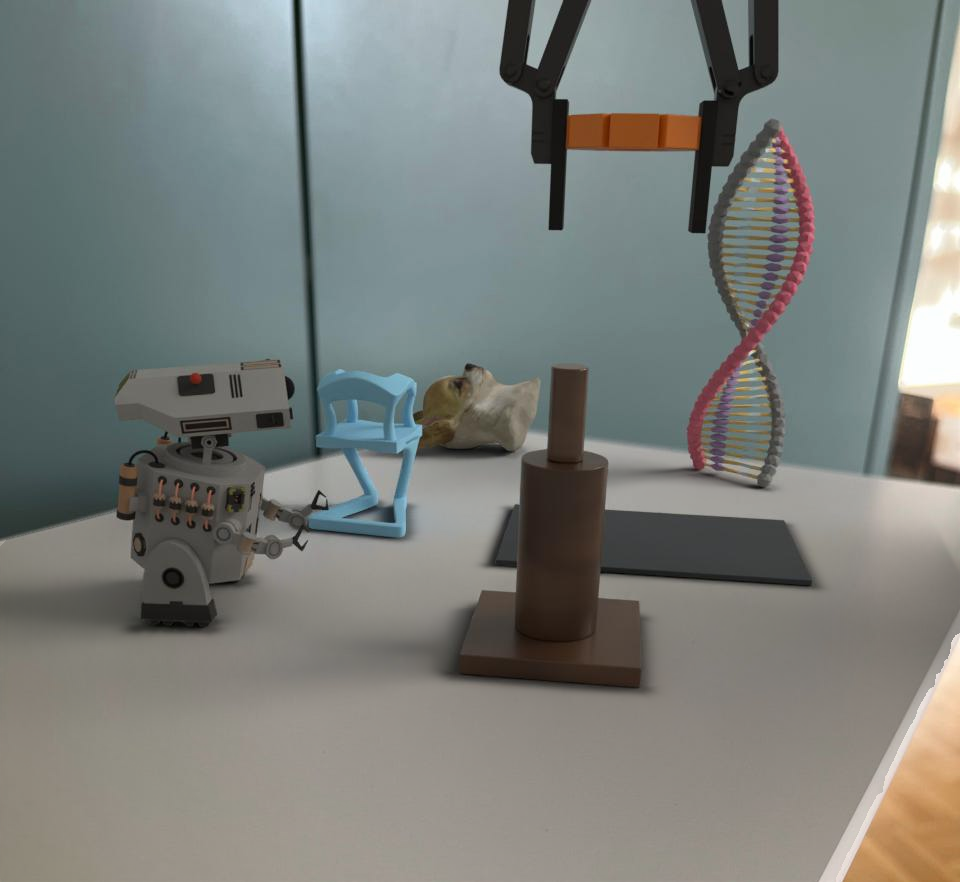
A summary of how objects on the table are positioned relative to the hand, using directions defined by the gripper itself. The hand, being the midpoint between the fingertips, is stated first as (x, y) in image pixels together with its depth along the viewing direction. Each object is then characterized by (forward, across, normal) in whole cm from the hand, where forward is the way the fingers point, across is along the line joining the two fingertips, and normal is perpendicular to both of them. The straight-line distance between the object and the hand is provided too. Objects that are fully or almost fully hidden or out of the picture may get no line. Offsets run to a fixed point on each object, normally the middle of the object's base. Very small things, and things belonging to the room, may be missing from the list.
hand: (625, 230), depth 59 cm
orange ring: (-4, 0, 0) cm, 4 cm away
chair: (+23, -18, +15) cm, 33 cm away
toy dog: (+23, -14, +40) cm, 48 cm away
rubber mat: (+23, +4, +13) cm, 26 cm away
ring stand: (+23, -3, -7) cm, 24 cm away
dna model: (+23, +12, +34) cm, 42 cm away
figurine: (+23, -24, -4) cm, 33 cm away
